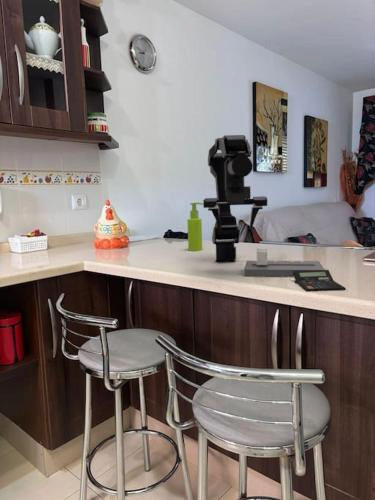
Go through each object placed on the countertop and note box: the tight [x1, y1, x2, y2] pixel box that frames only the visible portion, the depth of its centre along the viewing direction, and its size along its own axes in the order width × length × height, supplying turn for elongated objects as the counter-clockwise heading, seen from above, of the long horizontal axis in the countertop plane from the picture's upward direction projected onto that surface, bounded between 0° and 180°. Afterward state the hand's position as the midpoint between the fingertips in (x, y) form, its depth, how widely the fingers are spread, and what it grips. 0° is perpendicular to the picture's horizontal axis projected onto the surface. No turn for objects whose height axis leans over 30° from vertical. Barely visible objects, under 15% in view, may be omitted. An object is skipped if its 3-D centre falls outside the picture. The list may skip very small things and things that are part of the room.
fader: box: [256, 248, 268, 265], centre depth 114 cm, size 3×6×4 cm, turn 168°
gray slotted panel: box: [243, 260, 326, 278], centre depth 114 cm, size 22×14×2 cm, turn 78°
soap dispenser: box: [186, 202, 203, 252], centre depth 161 cm, size 6×7×20 cm
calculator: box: [293, 269, 347, 292], centre depth 97 cm, size 9×12×3 cm
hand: (235, 230), depth 116 cm, fingers open, 9 cm apart
